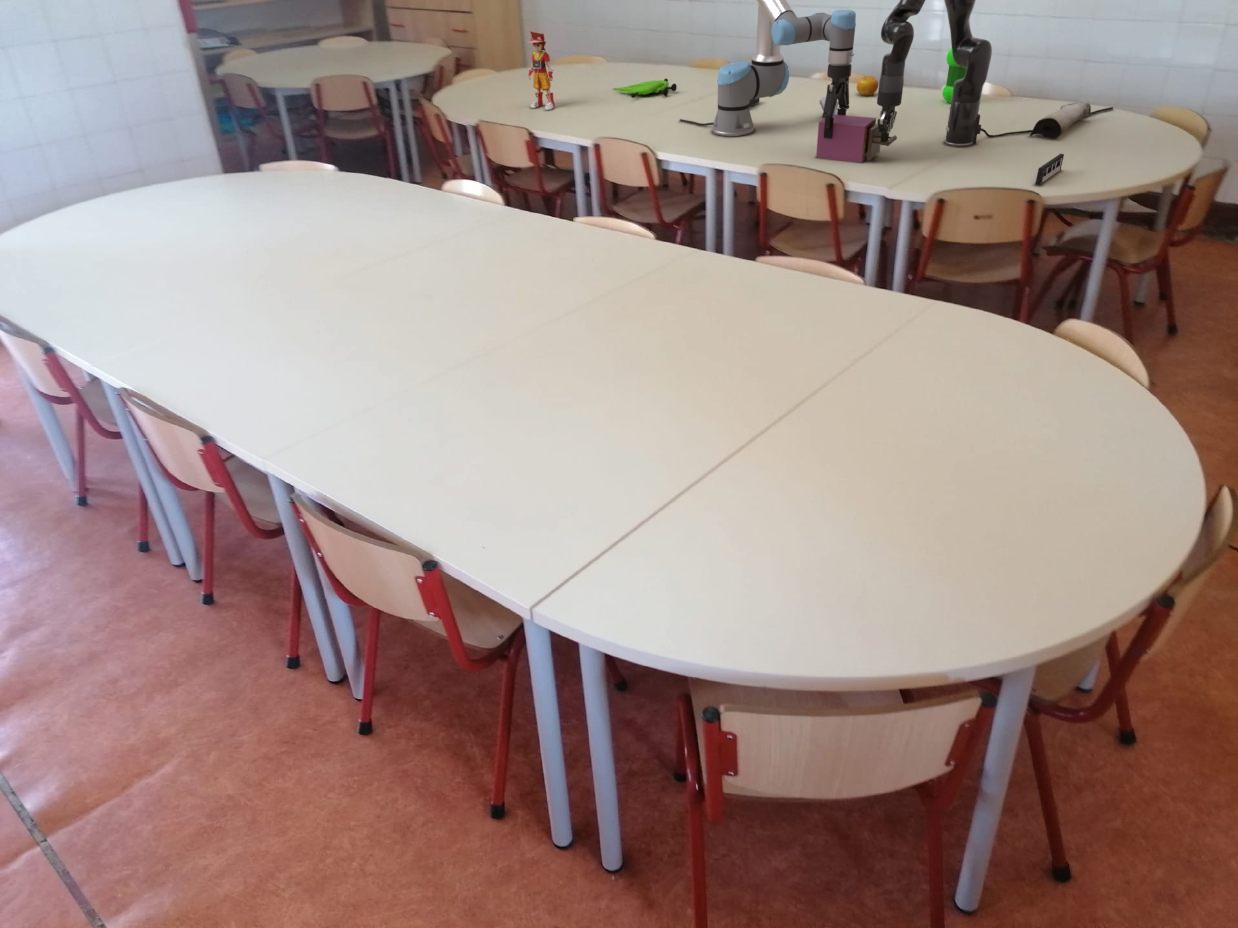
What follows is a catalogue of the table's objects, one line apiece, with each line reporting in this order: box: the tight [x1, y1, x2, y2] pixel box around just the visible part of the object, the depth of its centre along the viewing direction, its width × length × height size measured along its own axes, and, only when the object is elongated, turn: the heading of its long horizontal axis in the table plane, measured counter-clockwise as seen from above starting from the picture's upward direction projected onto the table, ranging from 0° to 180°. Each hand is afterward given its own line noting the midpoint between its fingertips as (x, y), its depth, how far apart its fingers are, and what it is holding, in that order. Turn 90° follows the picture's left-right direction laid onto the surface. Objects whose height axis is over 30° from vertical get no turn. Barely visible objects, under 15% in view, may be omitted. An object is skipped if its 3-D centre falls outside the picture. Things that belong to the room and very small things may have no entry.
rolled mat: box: [1029, 101, 1092, 140], centre depth 316 cm, size 30×9×10 cm
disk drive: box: [749, 98, 761, 108], centre depth 367 cm, size 10×3×15 cm
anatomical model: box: [819, 96, 848, 115], centre depth 341 cm, size 15×10×10 cm
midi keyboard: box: [1035, 153, 1065, 186], centre depth 273 cm, size 18×1×5 cm, turn 138°
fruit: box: [856, 75, 879, 96], centre depth 370 cm, size 8×8×8 cm
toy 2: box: [612, 78, 677, 99], centre depth 396 cm, size 28×5×30 cm
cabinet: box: [815, 114, 877, 164], centre depth 301 cm, size 16×11×12 cm
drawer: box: [863, 123, 898, 161], centre depth 298 cm, size 20×10×10 cm, turn 58°
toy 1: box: [527, 31, 556, 111], centre depth 374 cm, size 12×9×30 cm
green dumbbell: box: [942, 47, 967, 104], centre depth 348 cm, size 10×10×25 cm
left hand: (834, 133), depth 302 cm, fingers closed on cabinet, 11 cm apart
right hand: (884, 144), depth 296 cm, fingers closed
